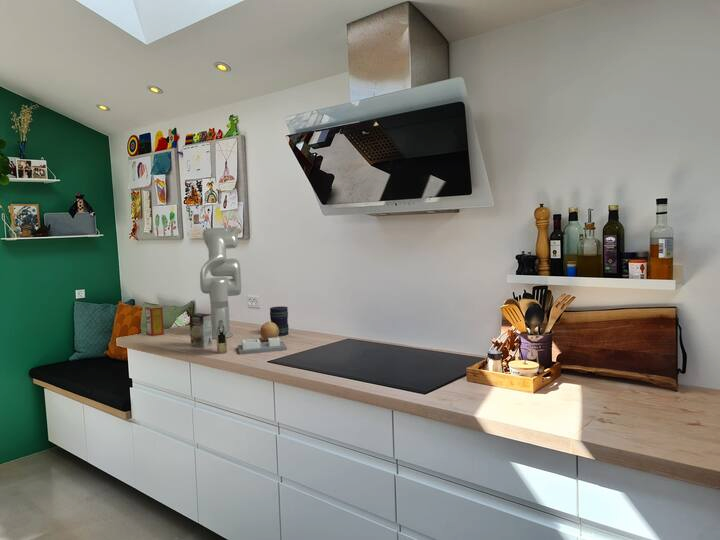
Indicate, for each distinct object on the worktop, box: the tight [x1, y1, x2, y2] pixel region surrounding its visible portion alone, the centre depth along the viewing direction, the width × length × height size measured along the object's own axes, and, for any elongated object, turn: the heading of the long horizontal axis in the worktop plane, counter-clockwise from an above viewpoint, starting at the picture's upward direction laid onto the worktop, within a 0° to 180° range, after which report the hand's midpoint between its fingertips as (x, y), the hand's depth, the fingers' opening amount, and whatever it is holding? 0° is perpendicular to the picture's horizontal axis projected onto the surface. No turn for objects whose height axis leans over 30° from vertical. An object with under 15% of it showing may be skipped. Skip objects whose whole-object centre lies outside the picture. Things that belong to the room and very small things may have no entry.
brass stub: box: [216, 331, 228, 355], centre depth 238 cm, size 4×4×10 cm
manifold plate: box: [237, 336, 288, 355], centre depth 244 cm, size 14×22×4 cm, turn 107°
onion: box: [259, 321, 279, 342], centre depth 263 cm, size 10×10×10 cm
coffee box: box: [189, 312, 213, 349], centre depth 255 cm, size 9×6×16 cm
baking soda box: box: [144, 305, 165, 337], centre depth 289 cm, size 10×6×16 cm
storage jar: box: [269, 305, 290, 337], centre depth 278 cm, size 10×10×15 cm
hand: (221, 341), depth 238 cm, fingers open, 9 cm apart
